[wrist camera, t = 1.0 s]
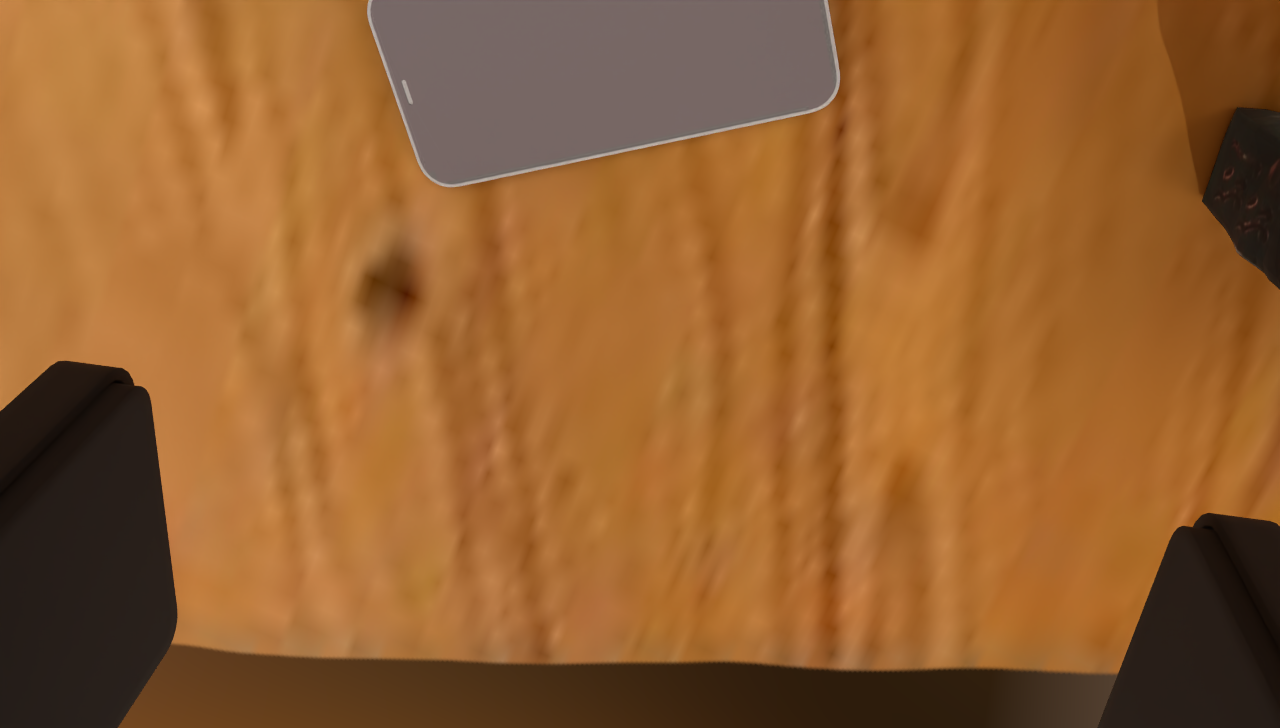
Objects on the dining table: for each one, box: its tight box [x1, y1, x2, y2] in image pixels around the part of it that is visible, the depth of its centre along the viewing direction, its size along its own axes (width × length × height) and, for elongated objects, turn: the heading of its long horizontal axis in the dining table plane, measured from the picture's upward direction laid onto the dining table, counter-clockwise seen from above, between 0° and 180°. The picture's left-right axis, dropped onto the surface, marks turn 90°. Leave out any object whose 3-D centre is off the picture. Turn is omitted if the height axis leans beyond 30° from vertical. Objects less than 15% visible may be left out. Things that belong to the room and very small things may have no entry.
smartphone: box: [367, 0, 840, 187], centre depth 40 cm, size 7×1×15 cm
